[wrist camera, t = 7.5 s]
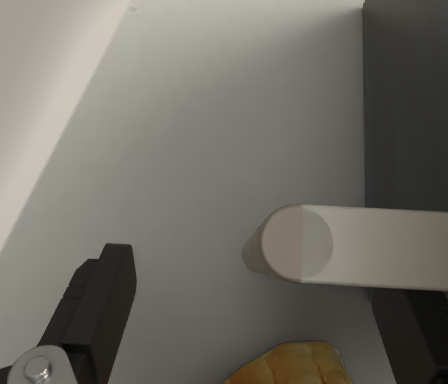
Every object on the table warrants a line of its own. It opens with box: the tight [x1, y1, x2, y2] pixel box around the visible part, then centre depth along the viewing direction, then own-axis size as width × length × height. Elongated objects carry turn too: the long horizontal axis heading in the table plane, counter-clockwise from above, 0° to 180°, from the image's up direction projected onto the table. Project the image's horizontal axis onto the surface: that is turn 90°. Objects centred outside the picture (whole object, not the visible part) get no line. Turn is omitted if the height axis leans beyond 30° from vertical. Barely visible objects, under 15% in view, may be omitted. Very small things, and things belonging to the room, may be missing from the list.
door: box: [242, 0, 448, 301], centre depth 14 cm, size 8×18×16 cm, turn 177°
